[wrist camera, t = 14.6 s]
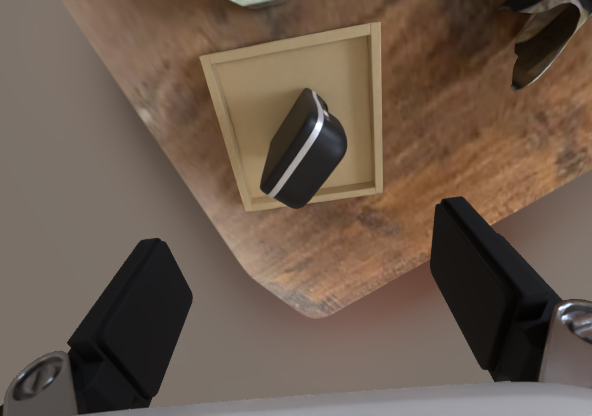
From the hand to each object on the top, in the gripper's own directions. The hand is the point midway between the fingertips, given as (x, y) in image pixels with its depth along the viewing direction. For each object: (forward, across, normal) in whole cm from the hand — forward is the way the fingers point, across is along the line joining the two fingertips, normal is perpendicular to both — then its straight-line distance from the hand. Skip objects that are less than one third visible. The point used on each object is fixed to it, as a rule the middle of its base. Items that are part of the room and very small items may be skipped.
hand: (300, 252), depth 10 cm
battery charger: (+21, 0, +2) cm, 21 cm away
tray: (+22, 0, +2) cm, 22 cm away
